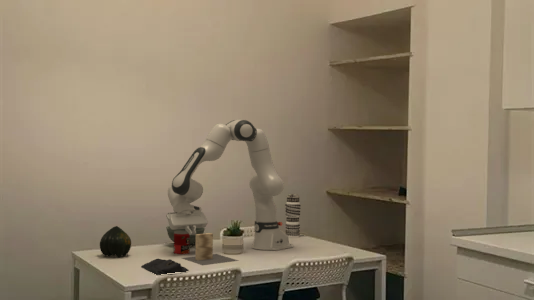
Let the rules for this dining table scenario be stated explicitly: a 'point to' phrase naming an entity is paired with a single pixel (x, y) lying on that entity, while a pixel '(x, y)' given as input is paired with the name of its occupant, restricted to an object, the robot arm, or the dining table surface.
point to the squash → (115, 242)
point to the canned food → (181, 242)
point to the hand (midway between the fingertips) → (193, 234)
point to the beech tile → (204, 246)
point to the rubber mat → (211, 260)
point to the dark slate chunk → (163, 267)
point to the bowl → (192, 237)
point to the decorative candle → (292, 215)
